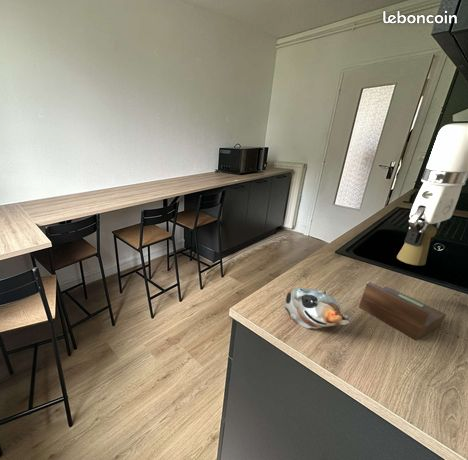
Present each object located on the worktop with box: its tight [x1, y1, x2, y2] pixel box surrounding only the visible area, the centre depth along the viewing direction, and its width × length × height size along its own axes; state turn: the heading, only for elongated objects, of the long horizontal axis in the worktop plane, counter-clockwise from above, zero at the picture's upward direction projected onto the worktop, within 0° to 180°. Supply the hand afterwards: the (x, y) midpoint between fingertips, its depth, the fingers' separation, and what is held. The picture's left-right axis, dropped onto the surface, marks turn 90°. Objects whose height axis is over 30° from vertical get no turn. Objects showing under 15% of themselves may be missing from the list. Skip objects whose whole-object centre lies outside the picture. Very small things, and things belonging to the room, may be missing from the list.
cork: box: [396, 222, 438, 266], centre depth 70 cm, size 6×6×11 cm
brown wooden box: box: [358, 281, 447, 341], centre depth 71 cm, size 12×14×9 cm
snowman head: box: [284, 287, 352, 330], centre depth 70 cm, size 15×12×14 cm
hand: (418, 241), depth 69 cm, fingers closed on cork, 5 cm apart
